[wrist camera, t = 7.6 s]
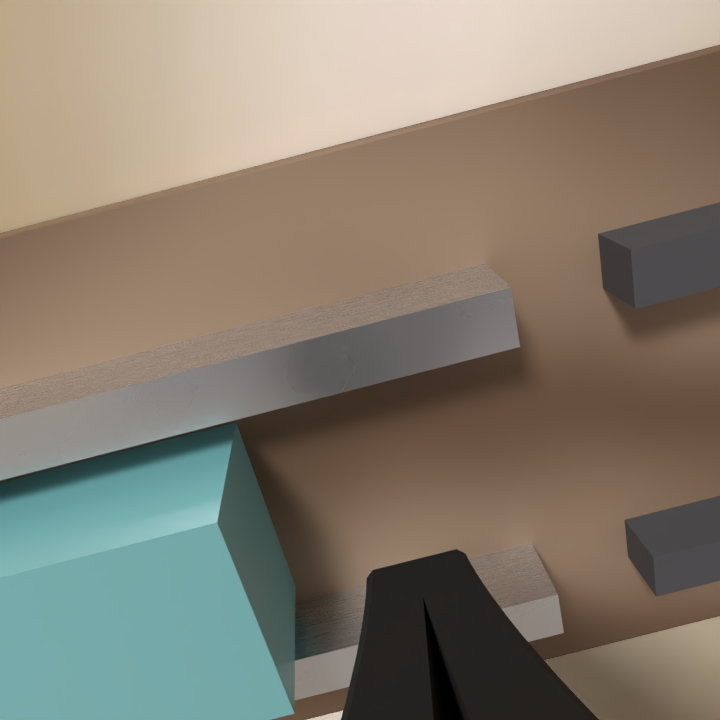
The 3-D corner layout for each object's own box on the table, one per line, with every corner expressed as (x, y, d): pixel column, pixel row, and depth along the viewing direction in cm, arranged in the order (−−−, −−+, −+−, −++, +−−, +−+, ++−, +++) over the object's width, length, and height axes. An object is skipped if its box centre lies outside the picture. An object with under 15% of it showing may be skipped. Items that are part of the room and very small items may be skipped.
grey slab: (537, 579, 14) (563, 633, 13) (47, 703, 14) (19, 769, 13) (484, 262, 11) (511, 287, 10) (-128, 421, 11) (-187, 467, 10)
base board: (1119, 478, 16) (1171, 502, 15) (-34, 768, 16) (-54, 809, 15) (1279, -102, 11) (1370, -120, 10) (-360, 327, 11) (-416, 348, 10)
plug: (295, 585, 13) (294, 713, 11) (63, 644, 14) (4, 786, 11) (235, 422, 12) (216, 522, 9) (-26, 489, 12) (-123, 608, 9)
